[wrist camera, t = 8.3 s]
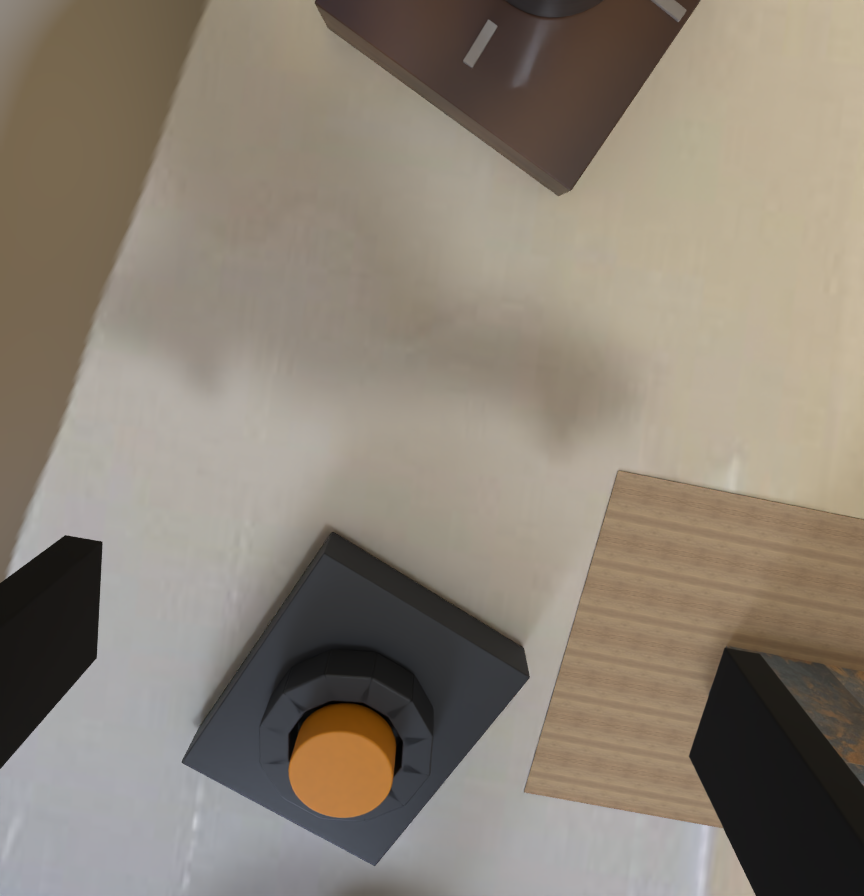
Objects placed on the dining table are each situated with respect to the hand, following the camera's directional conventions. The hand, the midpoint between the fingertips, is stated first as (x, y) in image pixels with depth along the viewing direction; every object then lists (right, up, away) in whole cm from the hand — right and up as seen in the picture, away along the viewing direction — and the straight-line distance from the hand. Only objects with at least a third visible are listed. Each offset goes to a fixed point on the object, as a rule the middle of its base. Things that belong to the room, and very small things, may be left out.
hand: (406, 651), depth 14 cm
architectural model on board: (+19, -7, +17) cm, 26 cm away
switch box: (-3, -7, +17) cm, 18 cm away
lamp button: (-3, -8, +13) cm, 16 cm away
